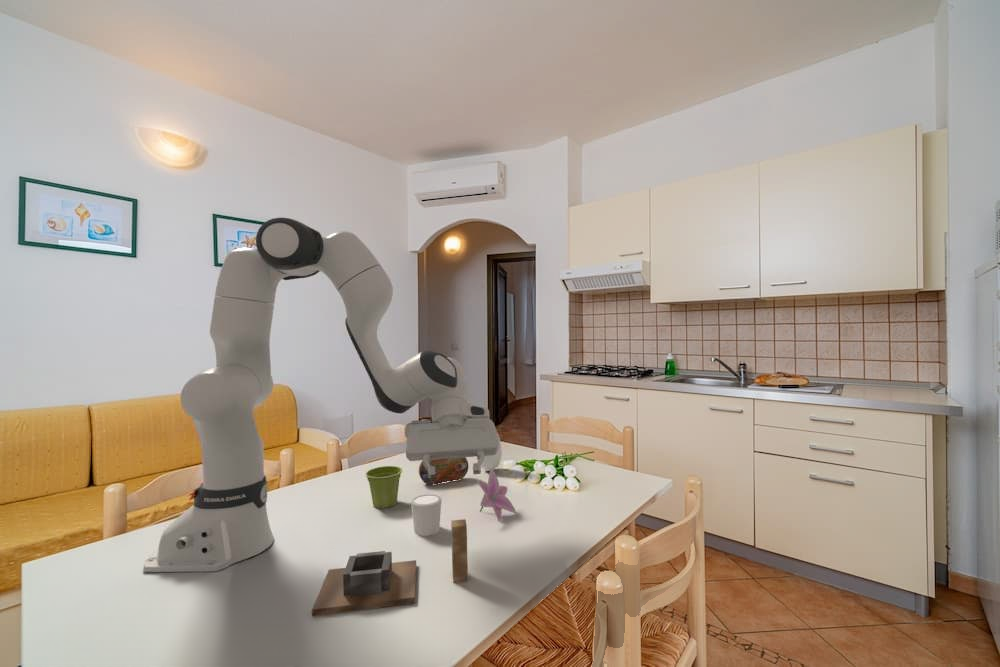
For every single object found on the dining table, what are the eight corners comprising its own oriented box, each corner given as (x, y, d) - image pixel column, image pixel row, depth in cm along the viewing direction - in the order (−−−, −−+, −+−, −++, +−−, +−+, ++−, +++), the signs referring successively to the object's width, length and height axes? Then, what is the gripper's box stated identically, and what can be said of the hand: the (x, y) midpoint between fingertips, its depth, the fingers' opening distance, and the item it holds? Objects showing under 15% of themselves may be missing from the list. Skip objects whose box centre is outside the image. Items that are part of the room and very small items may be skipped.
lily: (473, 532, 99) (491, 498, 98) (454, 497, 109) (471, 465, 107) (513, 534, 106) (531, 502, 104) (492, 500, 116) (508, 471, 114)
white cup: (436, 538, 94) (435, 506, 95) (406, 536, 96) (405, 504, 96) (446, 524, 101) (445, 494, 101) (418, 522, 103) (417, 493, 103)
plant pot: (390, 513, 109) (389, 478, 109) (358, 509, 112) (357, 475, 112) (409, 499, 117) (409, 467, 117) (380, 495, 120) (379, 464, 120)
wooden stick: (453, 582, 77) (452, 526, 77) (452, 574, 80) (451, 520, 80) (467, 581, 78) (466, 525, 78) (466, 573, 80) (465, 519, 80)
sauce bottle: (506, 470, 140) (505, 414, 140) (489, 476, 135) (488, 418, 135) (489, 465, 146) (488, 412, 146) (472, 471, 140) (471, 415, 140)
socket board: (312, 615, 69) (311, 587, 69) (328, 574, 81) (328, 550, 81) (414, 603, 72) (413, 576, 72) (416, 565, 83) (415, 542, 83)
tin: (420, 487, 126) (419, 458, 126) (418, 484, 129) (417, 456, 129) (469, 479, 132) (468, 452, 133) (465, 476, 135) (465, 449, 135)
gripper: (404, 413, 96) (402, 471, 86) (495, 408, 99) (503, 463, 90) (405, 429, 100) (404, 485, 91) (492, 424, 104) (500, 478, 94)
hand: (454, 474), depth 90 cm, fingers open, 8 cm apart
